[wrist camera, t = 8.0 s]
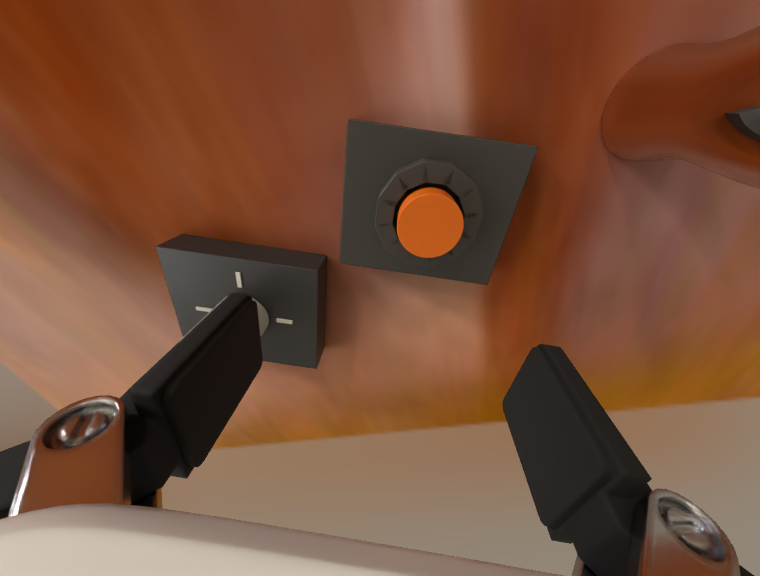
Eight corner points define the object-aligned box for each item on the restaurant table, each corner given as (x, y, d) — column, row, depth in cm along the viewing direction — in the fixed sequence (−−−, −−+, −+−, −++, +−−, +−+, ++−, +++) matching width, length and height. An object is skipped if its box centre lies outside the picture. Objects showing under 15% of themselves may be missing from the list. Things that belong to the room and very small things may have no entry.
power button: (393, 241, 20) (392, 253, 18) (402, 182, 18) (402, 188, 16) (449, 250, 20) (454, 262, 18) (465, 191, 18) (472, 198, 16)
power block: (344, 252, 24) (334, 273, 21) (353, 119, 19) (341, 118, 16) (481, 272, 24) (493, 297, 21) (525, 144, 19) (552, 148, 16)
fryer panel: (205, 330, 30) (185, 350, 27) (181, 233, 25) (153, 247, 22) (324, 348, 30) (316, 370, 27) (327, 255, 25) (317, 271, 22)
